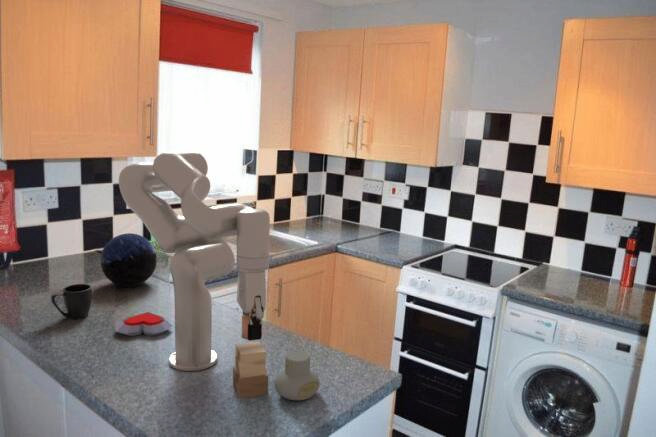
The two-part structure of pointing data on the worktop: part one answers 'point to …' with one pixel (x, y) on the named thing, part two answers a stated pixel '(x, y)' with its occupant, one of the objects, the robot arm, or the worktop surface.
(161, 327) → the sculpture
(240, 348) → the top block
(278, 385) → the air freshener
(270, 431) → the worktop surface
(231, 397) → the worktop surface
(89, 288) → the mug
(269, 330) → the worktop surface
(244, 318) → the brown rounded cylinder
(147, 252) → the decorative sphere
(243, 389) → the base block
